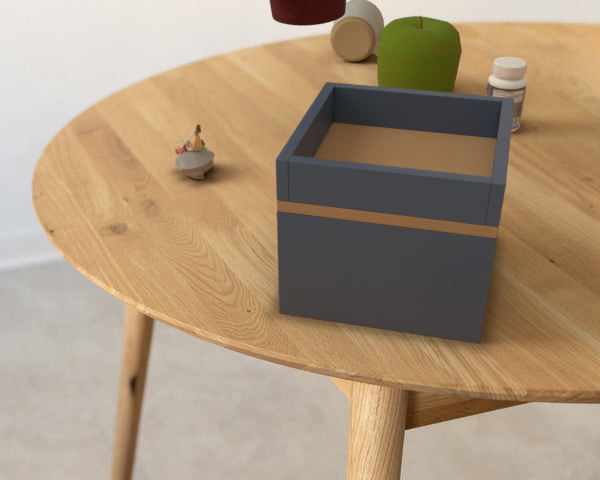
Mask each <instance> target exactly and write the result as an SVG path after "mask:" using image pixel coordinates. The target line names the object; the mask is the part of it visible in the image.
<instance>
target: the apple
mask: <svg viewBox="0 0 600 480" xmlns="http://www.w3.org/2000/svg"><path fill="white" fill-rule="evenodd" d="M461 42H462V41H461V36H460V32H459V31H458V30H457V28H456V27H455V26H454V25H453V24H452V23H450V22H448V21H447V20H442V19H439V18H433V17H430V16H429V17H428V16H422V15H413V16H405V17H400V18H395V19H393V20H391V21H389V23H387V24H386V25H384V28H383V29H382V30H381V35H380V39H379V42H378V44H377V45H378V47H377V56H376V58H377V59H376V60H377V61H376V65H377V66H376V68H377V71H376V73H377V86H379V87H390V88H402V89H413V90H425V91H436V92H448V93H452V92H453V91H454V90H455V85H456V81H457V76H458V71H459V66H460V62H461V57H462V52H463V49H462V43H461Z"/></svg>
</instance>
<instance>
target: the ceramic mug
mask: <svg viewBox="0 0 600 480" xmlns="http://www.w3.org/2000/svg"><path fill="white" fill-rule="evenodd" d="M384 27H385V19H384V16H383V14H382V12H381V10H380V9H379V8H378V6H377V5H376V4H375V3H374V2H371V1H369V0H348V1H346V11H345V14H344V16H343V17H341V18H339V19H337V20H335V21H333V24H332V26H331V29H330V44H331V47H332V49H333V51H334V53H335V54H336V55H337V56H338V57H339V58H341V59H342V60H344V61H347V62H352V63H353V62H361V61H363V60H365V59H367V58H368V57H369V56H371V55H374V56H376V57H377V47H378V44H379V39H380V35H381V30H382V29H383V28H384Z"/></svg>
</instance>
